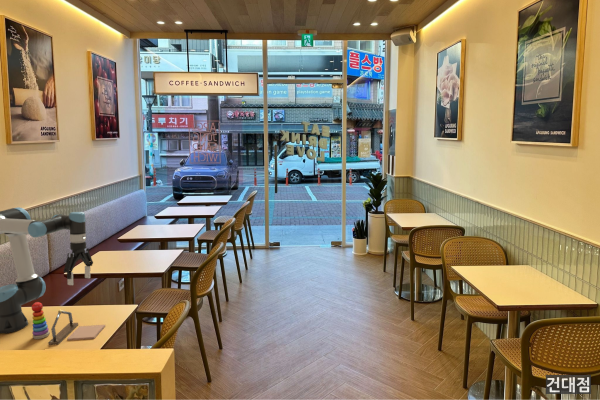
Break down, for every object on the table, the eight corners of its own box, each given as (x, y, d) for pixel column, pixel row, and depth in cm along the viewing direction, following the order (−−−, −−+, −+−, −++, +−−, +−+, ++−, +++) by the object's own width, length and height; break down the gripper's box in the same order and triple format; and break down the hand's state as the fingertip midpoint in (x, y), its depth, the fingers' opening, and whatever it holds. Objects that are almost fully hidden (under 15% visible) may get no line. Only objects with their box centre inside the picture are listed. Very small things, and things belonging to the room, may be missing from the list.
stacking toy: (42, 340, 241) (36, 306, 238) (29, 339, 243) (23, 305, 239) (53, 333, 249) (47, 300, 245) (40, 332, 250) (34, 299, 247)
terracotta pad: (67, 340, 239) (67, 338, 239) (79, 328, 253) (79, 326, 253) (94, 338, 239) (94, 336, 239) (105, 326, 253) (105, 324, 253)
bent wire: (69, 325, 257) (65, 302, 254) (78, 325, 257) (74, 301, 254) (48, 345, 235) (44, 319, 232) (58, 344, 235) (54, 319, 232)
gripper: (68, 246, 230) (69, 288, 233) (99, 237, 255) (100, 275, 257) (54, 245, 232) (56, 287, 234) (87, 237, 256) (88, 274, 258)
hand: (79, 281), depth 245 cm, fingers open, 13 cm apart
